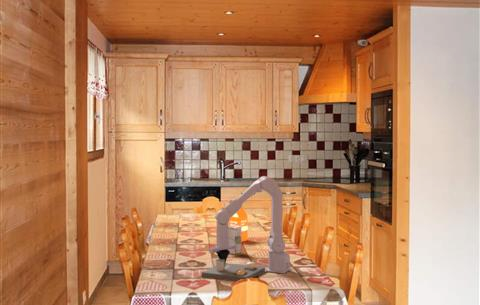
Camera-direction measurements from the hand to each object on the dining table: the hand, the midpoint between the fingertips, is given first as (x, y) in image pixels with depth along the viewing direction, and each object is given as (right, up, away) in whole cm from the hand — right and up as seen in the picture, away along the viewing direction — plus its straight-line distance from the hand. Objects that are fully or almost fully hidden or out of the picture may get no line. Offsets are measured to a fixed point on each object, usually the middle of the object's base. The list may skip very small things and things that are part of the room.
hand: (222, 266), depth 254 cm
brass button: (+8, -3, -9) cm, 12 cm away
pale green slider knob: (-1, -1, -2) cm, 3 cm away
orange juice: (+7, -1, +77) cm, 77 cm away
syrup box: (+5, -2, +42) cm, 43 cm away
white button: (+13, -1, 0) cm, 13 cm away
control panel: (+5, -3, -2) cm, 6 cm away
